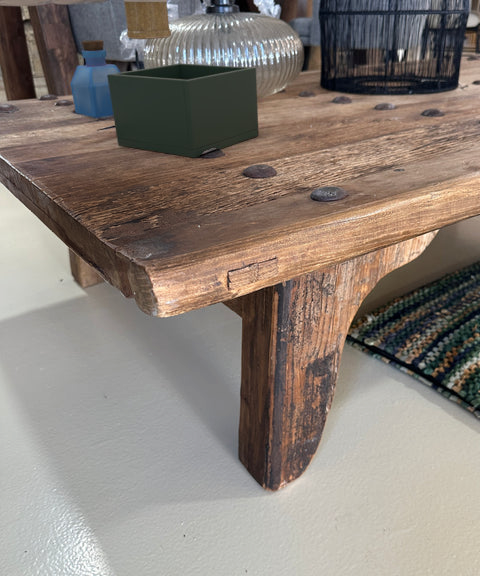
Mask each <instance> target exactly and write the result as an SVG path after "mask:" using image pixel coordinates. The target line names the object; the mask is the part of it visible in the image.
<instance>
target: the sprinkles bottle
mask: <svg viewBox="0 0 480 576" xmlns="http://www.w3.org/2000/svg"><path fill="white" fill-rule="evenodd" d="M123 3H124V10H125V11H124V12H125V18H126V29H127V30H126V36H127V38H129V39H132V40H150V39H151V40H152V39H153V40H155V39H166V38H170V37H171V36H172V31H171V29H170V23H169V12H168V0H123Z"/></svg>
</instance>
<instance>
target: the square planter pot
mask: <svg viewBox="0 0 480 576" xmlns="http://www.w3.org/2000/svg"><path fill="white" fill-rule="evenodd" d="M120 72H121V73H115V74H109V75H107V77H108V83H109V90H110V96H111V102H112V109H113V115H112V116H113V122H114V126H115V128H114V129H115V133H116V140H117V141H116V142H117V145H118V146H119V147H125V148H131V149H138V150H144V151H151V152H156V153H163V154H168V155H169V154H170V155H175V156H182V157H186V158H187V157H188V158H193V159H196V158H198V157H201V156H200V155H201V154H202V153H203V152H204V151H206V150H209V149H211V148H216V149H219V150H222V149H225V148H228V147H231V146H233V145H236V144H240V143H242V142H244V141H247V140H250V139H253V138H256V137H259V136H260V135H259V111H258V109H259V108H258V89H257V88H258V87H257V68H256V67H249V66H231V65H217V64H216V65H215V64H198V63H197V64H196V63H181V62H180V63H179V62H178V63H173V64H167V65H160V66H154V67H153V66H152V67H148V68H142V69H135V70H129V71H128V70H127V71H123V72H122V71H120Z"/></svg>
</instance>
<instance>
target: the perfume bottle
mask: <svg viewBox="0 0 480 576" xmlns="http://www.w3.org/2000/svg"><path fill="white" fill-rule="evenodd" d="M80 42H81V45H82V47H83V50H81V54H82V58H83V59H84V61H85V64H82V65H77V66H76V68H75V71H74V73H73V76H72V77H71V78H72V79H71V81H70V83H69V85H70V88H71V89H70V90H71V93H72V100H73V104H74V105H73V106H74V110H75V113H76V114H77V115H82V116H86V117H90V118H94V119H98V118H104V117H111V116H114V115H113V109H112V102H111V96H110V90H109V83H108V77H107V75H109V74H115V73H121V72H122V71H120V69H119V68H118V67H117V65H116V64H111V63H107V61H106V58H107V57H108V55H107V54H108V53H107V49H106V48H104V40H100V39H97V40H96V39H95V40H81V41H80ZM108 129H109V130H110V129H116V128H115V125H110V126H108V127H104V128H103V127H102V128H99V129H96V131H97V132H98V131H99V132H100V131H104V130H108Z"/></svg>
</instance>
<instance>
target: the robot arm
mask: <svg viewBox="0 0 480 576" xmlns="http://www.w3.org/2000/svg"><path fill="white" fill-rule="evenodd" d="M107 1H109V0H0V6H1V7H36V6H37V7H38V6H44V5H49V4H55V5H67V6H68V5H88V4H89V5H91V4H92V5H93V4H103V3H104V2H107Z"/></svg>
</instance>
